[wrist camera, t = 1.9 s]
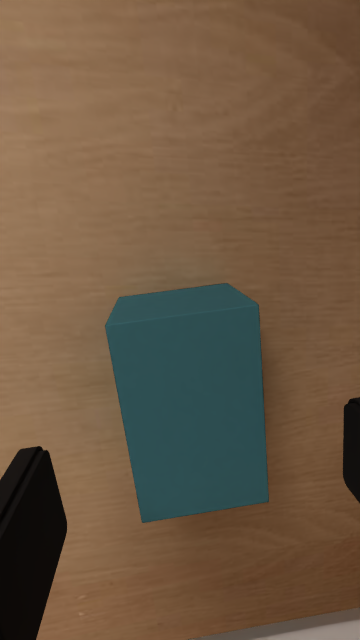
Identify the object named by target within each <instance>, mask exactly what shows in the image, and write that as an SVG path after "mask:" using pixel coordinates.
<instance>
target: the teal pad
mask: <svg viewBox="0 0 360 640" xmlns="http://www.w3.org/2000/svg"><path fill="white" fill-rule="evenodd" d="M105 328H106V333H107V339H108V344H109V349H110V355H111V360H112V365H113V371H114V376H115V381H116V387H117V392H118V397H119V403H120V408H121V413H122V419H123V424H124V429H125V435H126V440H127V445H128V451H129V456H130V461H131V467H132V472H133V477H134V483H135V488H136V493H137V499H138V504H139V509H140V515H141V520H142V523H145V522H151V521H157V520H163V519H169V518H175V517H181V516H187V515H193V514H199V513H205V512H211V511H217V510H223V509H229V508H235V507H241V506H247V505H253V504H259V503H265V502H269V494H268V475H267V455H266V436H265V416H264V396H263V377H262V357H261V338H260V318H259V305H258V304H257V303H256V302H254V301H253V300H251V299H250V298H248V297H247V296H245V295H244V294H242V293H241V292H240V291H238V290H237V289H235V288H234V287H232V286H231V285H229V284H228V283H225V284H217V285H209V286H202V287H194V288H186V289H179V290H171V291H163V292H156V293H148V294H141V295H133V296H125V297H119V298H118V300H117V302H116V304H115V306H114V308H113V310H112V312H111V314H110V317H109V319H108V321H107V323H106V325H105Z"/></svg>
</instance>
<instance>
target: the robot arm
mask: <svg viewBox="0 0 360 640" xmlns="http://www.w3.org/2000/svg"><path fill="white" fill-rule="evenodd" d="M343 478H344V481H345V484H346V486H347V487H348V489H349V490H350V491H351V492H352V494H353V495H354V496H355V498H356V499H357V500H358V501H359V503H360V397H359V398H352V399H350V400H349V402H348V404H346V405H345V406H344V438H343ZM66 533H67V520H66V516H65V512H64V508H63V504H62V501H61V497H60V493H59V489H58V485H57V481H56V477H55V473H54V469H53V466H52V462H51V458H50V454H49V452H48V451H47V450H44V451H43V449H42V447H40V446H38V447H31V448H25V449H20V450H19V451H18V453H17V454H16V456H15V457H14V459H13V461H12V462H11V464H10V465H9V467H8V469H7V470H6V472H5V473H4V475H3V477H2V478H1V480H0V640H36V638H37V634H38V631H39V627H40V624H41V620H42V617H43V613H44V610H45V606H46V603H47V599H48V596H49V593H50V589H51V586H52V582H53V579H54V575H55V572H56V568H57V565H58V561H59V558H60V554H61V551H62V547H63V544H64V540H65V537H66ZM188 640H360V607H359V608H354V609H348V610H343V611H337V612H332V613H326V614H321V615H315V616H310V617H305V618H299V619H294V620H289V621H283V622H278V623H272V624H267V625H262V626H256V627H251V628H246V629H240V630H235V631H230V632H225V633H219V634H214V635H209V636H203V637H198V638H193V639H188Z"/></svg>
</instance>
